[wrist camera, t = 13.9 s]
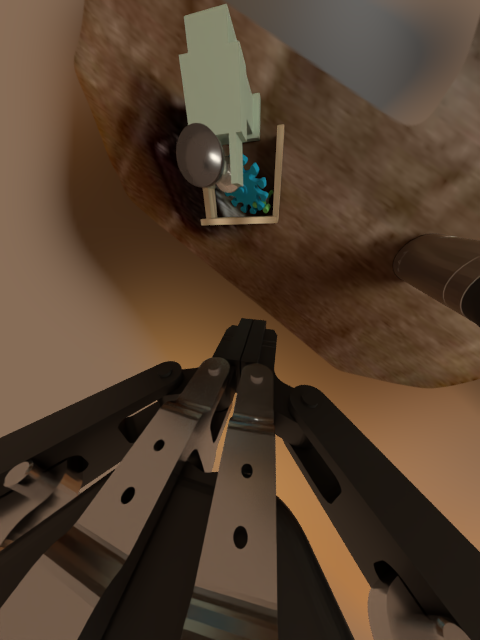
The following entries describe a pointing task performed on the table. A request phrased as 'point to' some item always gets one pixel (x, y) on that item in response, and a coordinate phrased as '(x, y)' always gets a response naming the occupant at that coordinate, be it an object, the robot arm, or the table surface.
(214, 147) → the ram
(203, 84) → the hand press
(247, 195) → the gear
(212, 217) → the tan open box
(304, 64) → the table surface
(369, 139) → the table surface
